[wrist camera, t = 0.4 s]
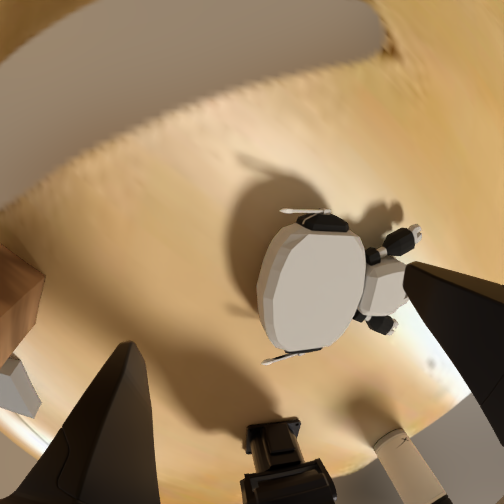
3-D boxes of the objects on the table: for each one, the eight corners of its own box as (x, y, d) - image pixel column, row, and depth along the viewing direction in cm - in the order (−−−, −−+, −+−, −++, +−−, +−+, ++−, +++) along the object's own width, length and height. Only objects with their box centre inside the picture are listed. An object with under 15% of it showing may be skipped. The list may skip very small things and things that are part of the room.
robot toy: (405, 213, 25) (257, 199, 21) (437, 224, 21) (276, 209, 17) (379, 324, 28) (245, 339, 25) (403, 345, 24) (257, 372, 20)
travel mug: (397, 424, 35) (454, 507, 17) (407, 432, 38) (456, 506, 19) (367, 446, 36) (415, 532, 17) (379, 452, 38) (423, 528, 19)
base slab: (41, 402, 24) (34, 418, 21) (5, 392, 23) (-3, 406, 20) (20, 360, 22) (10, 376, 19) (-16, 351, 21) (-26, 364, 18)
